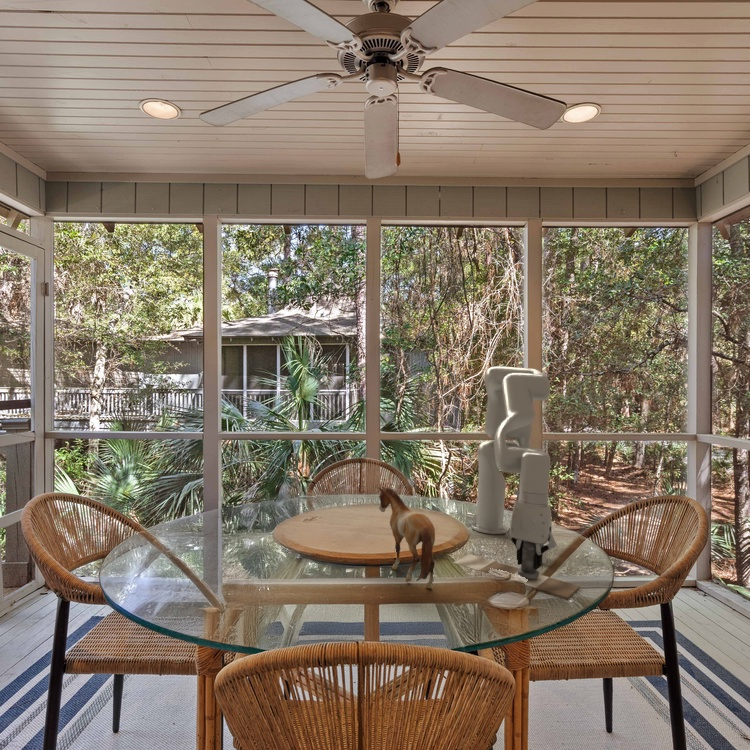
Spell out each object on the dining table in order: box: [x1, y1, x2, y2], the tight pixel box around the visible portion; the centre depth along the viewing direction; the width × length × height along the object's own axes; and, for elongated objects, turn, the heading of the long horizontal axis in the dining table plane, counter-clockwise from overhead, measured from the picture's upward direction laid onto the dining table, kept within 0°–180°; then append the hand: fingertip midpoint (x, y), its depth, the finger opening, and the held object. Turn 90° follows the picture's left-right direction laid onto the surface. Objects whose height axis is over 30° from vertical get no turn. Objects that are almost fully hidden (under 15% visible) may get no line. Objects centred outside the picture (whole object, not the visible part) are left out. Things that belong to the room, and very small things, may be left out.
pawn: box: [517, 541, 540, 578], centre depth 140 cm, size 5×5×9 cm
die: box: [542, 541, 549, 565], centre depth 156 cm, size 6×6×6 cm
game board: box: [452, 553, 580, 601], centre depth 142 cm, size 32×10×1 cm, turn 53°
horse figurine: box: [378, 486, 436, 589], centre depth 137 cm, size 31×8×21 cm, turn 20°
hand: (528, 565), depth 140 cm, fingers closed on pawn, 3 cm apart
